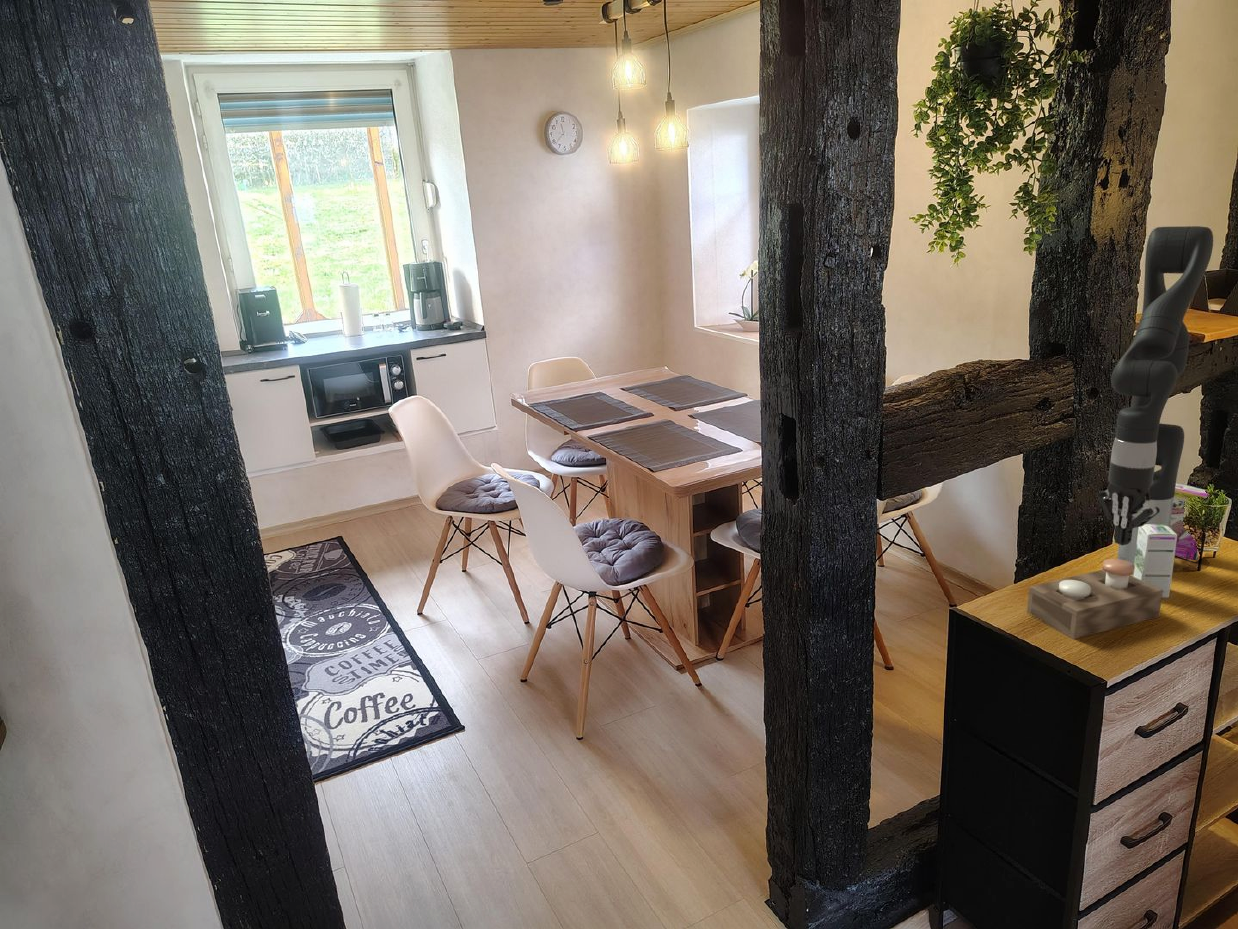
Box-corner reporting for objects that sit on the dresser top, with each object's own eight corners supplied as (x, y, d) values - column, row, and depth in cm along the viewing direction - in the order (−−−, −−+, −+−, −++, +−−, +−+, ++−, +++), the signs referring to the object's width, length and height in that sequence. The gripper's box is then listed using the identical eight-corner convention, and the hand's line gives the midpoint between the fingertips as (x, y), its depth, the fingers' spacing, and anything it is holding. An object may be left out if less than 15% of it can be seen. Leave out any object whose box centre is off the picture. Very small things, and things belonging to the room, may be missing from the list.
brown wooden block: (1108, 593, 184) (1112, 567, 183) (1159, 616, 173) (1163, 589, 172) (1026, 613, 178) (1029, 586, 176) (1073, 639, 167) (1077, 611, 165)
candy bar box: (1144, 549, 205) (1153, 484, 200) (1155, 543, 207) (1164, 479, 202) (1195, 564, 196) (1206, 496, 191) (1206, 558, 198) (1217, 491, 193)
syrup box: (1170, 598, 181) (1179, 534, 176) (1139, 597, 182) (1148, 533, 178) (1159, 586, 186) (1168, 524, 182) (1129, 585, 187) (1138, 523, 183)
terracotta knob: (1113, 588, 180) (1117, 556, 178) (1136, 599, 175) (1141, 567, 172) (1092, 593, 178) (1096, 561, 176) (1115, 604, 173) (1120, 572, 171)
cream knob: (1070, 609, 177) (1074, 577, 175) (1093, 621, 172) (1097, 588, 170) (1049, 615, 175) (1052, 583, 173) (1071, 627, 170) (1075, 594, 168)
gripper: (1178, 467, 163) (1165, 552, 168) (1118, 450, 175) (1108, 530, 180) (1148, 472, 161) (1136, 558, 166) (1089, 455, 173) (1080, 535, 178)
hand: (1121, 543), depth 173 cm, fingers closed
